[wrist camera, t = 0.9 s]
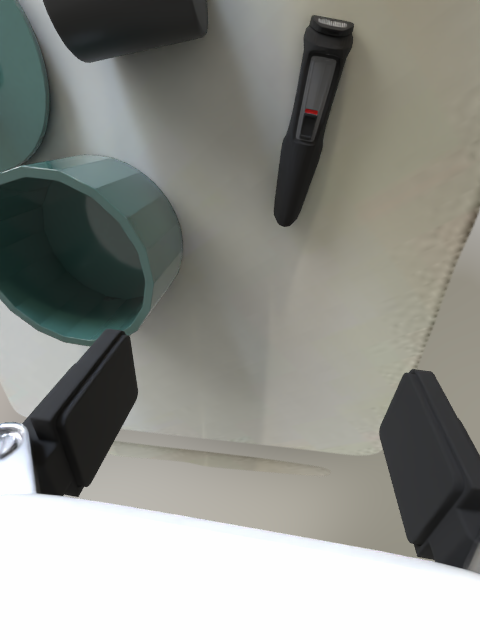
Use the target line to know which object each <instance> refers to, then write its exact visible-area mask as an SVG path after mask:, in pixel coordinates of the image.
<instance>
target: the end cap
mask: <svg viewBox="0 0 480 640" xmlns="http://www.w3.org/2000/svg"><path fill="white" fill-rule="evenodd" d="M43 2H44V5H45V7H46V10H47V13H48V15H49V17H50V19H51V21H52V23H53V25H54V27H55V29H56V31H57V33H58V34H59V36H60V38H61V39H62V41H63V42H64V44H65V45H66V46H67V48H68V49H69V50H70V51H71V52H72V53H73V54H74V55H75V56H76V57H77V58H78V59H80V60H81V61H84V62H89V63H91V62H95V61H99V60H104V59H108V58H113V57H117V56H122V55H126V54H130V53H135V52H139V51H144V50H148V49H153V48H157V47H161V46H166V45H170V44H175V43H179V42H184V41H188V40H192V39H197V38H201V37H204V36H205V35H206V33H207V29H208V12H207V1H206V0H43Z"/></svg>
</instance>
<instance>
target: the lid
mask: <svg viewBox="0 0 480 640" xmlns="http://www.w3.org/2000/svg"><path fill="white" fill-rule="evenodd" d="M49 99H50V96H49V85H48V78H47V73H46V68H45V63H44V60H43V57H42V53H41V50H40V47H39V44H38V41H37V39H36V36H35V34H34V31H33V29H32V27H31V25H30V23H29V21H28V19H27V17H26V15H25V13H24V11H23V9H22V8H21V6H20V4H19V3H18V1H17V0H0V172H1V171H6V170H10V169H13V168H16V167H18V166H20V165H22V164H23V163H25V162H26V161H27V160H29V158H30V157H31V156H32V155H33V154H34V153H35V152H36V150H37V149H38V147H39V146H40V144H41V142H42V139H43V137H44V135H45V131H46V128H47V124H48V117H49Z"/></svg>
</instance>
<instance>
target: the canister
mask: <svg viewBox="0 0 480 640" xmlns="http://www.w3.org/2000/svg"><path fill="white" fill-rule="evenodd" d="M182 253H183V240H182V234H181V229H180V225H179V222H178V219H177V217H176V214H175V212H174V210H173V208H172V206H171V205H170V203H169V201H168V200H167V198H166V197H165V195H164V194H163V193H162V191H161V190H160V189H159V188H158V187H157V186H156V185H155V183H154V182H152V181H151V180H150V179H149V178H148V177H147V176H146V175H144V174H143V173H142V172H140V171H139V170H137V169H136V168H134V167H132V166H131V165H129V164H127V163H125V162H122V161H120V160H117V159H114V158H110V157H106V156H99V155H86V154H84V155H78V156H72V157H67V158H61V159H56V160H50V161H45V162H39V163H34V164H28V165H23V166H19V167H16V168H13V169H10V170H7V171H4V172H1V173H0V299H1V301H2V302H3V303H4V304H5V305H6V306H7V307H8V308H9V310H10V311H12V312H13V313H14V314H16V315H17V316H18V317H20V318H21V319H23V320H24V321H25V322H27V323H28V324H29V325H31V326H32V327H33V328H35V329H36V330H37V331H40V332H42V333H44V334H47V335H49V336H51V337H54V338H56V339H58V340H60V341H63V342H66V343H72V344H78V345H84V346H90V347H91V346H92V345H93V343H94V342H95V341H96V340H97V339H98V338H99V336H100V335H101V334H102V333H103V332H104V331H105V330H106V329H114V330H122V331H124V332H125V334H126V335H128V336H129V335H131V334H133V333H134V332H136V331H137V330H138V329H139V328H140V326H141V325H142V324H143V322H144V321H145V319H146V318H147V317H148V315H149V314H150V313H151V311H152V310H153V308H154V307H155V306H156V304H157V303H158V301H159V300H160V299H161V297H162V296H163V295H164V293H165V292H166V290H167V289H168V287H169V286H170V284H171V283H172V281H173V280H174V278H175V277H176V275H177V274H178V272H179V268H180V264H181V261H182Z"/></svg>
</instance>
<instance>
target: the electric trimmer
mask: <svg viewBox="0 0 480 640" xmlns="http://www.w3.org/2000/svg"><path fill="white" fill-rule="evenodd" d="M353 28H354V24H353V23H351V22H347V21H342V20H336V19H331V18H326V17H321V16H315V15H313V16H312V18H311V21H310V25H309V26H308V27H307V28H306V31H305V34H304V53H303V58H302V64H301V70H300V75H299V81H298V87H297V92H296V97H295V103H294V108H293V112H292V117H291V121H290V125H289V128H288V131H287V134H286V136H285V138H284V140H283V143H282V149H281V156H280V164H279V171H278V179H277V187H276V195H275V204H274V215H275V218H276V220H277V222H278V224H279V225H281V226H283V227H287V226H290V225H291V224H292V223H293V222H294V221H295V220H296V219H297V217H298V215H299V213H300V211H301V208H302V205H303V203H304V200H305V197H306V194H307V192H308V189H309V186H310V183H311V181H312V178H313V175H314V172H315V169H316V167H317V164H318V161H319V158H320V155H321V151H322V146H323V136H324V132H325V127H326V124H327V120H328V117H329V113H330V110H331V106H332V103H333V100H334V96H335V93H336V90H337V87H338V83H339V80H340V77H341V74H342V71H343V67H344V64H345V61H346V58H347V56H348V54H349V52H350V50H351V48H352V44H353V36H352V32H353Z"/></svg>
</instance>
